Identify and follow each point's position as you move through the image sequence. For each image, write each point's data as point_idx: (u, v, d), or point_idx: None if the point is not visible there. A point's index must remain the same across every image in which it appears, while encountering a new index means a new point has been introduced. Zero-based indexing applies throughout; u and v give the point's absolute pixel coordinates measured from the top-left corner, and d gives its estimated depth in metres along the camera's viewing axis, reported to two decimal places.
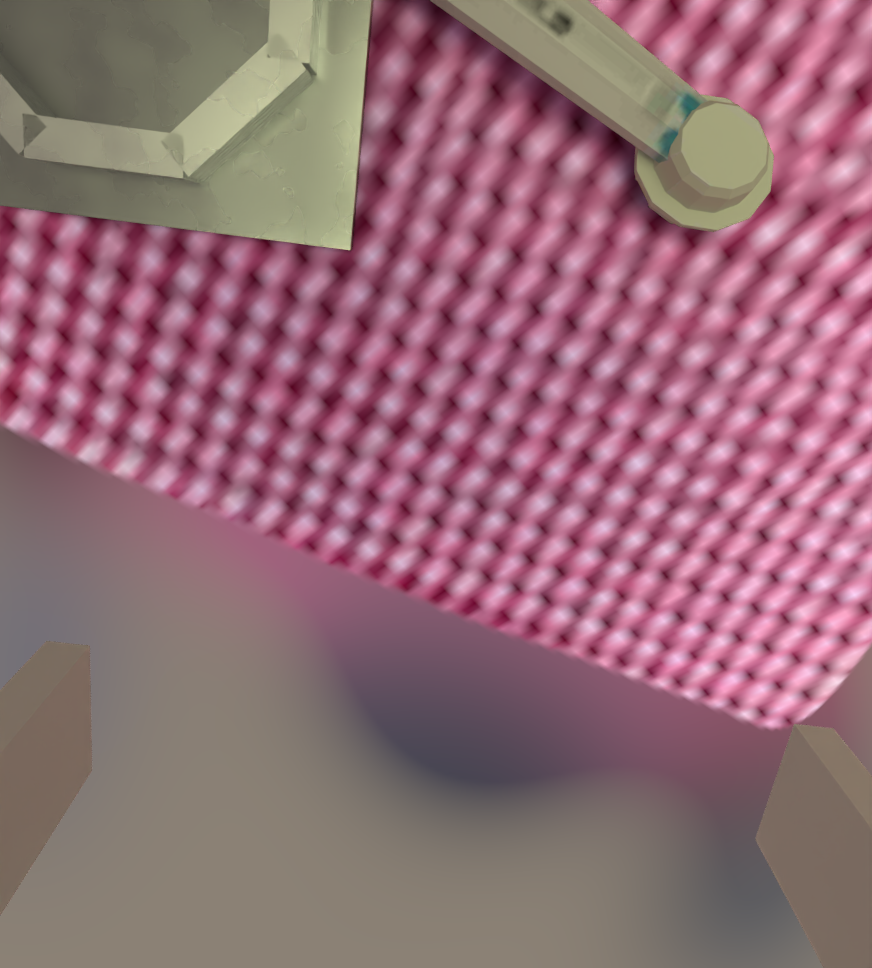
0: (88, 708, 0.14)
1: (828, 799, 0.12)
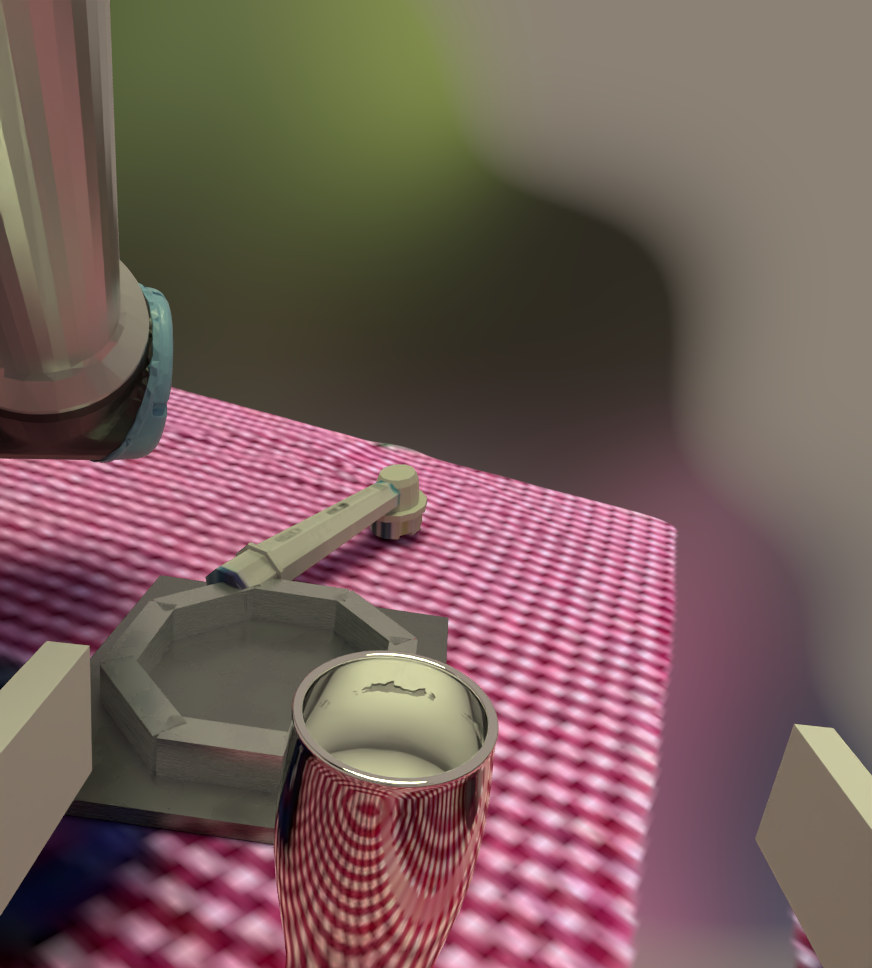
0: (88, 708, 0.14)
1: (828, 798, 0.12)
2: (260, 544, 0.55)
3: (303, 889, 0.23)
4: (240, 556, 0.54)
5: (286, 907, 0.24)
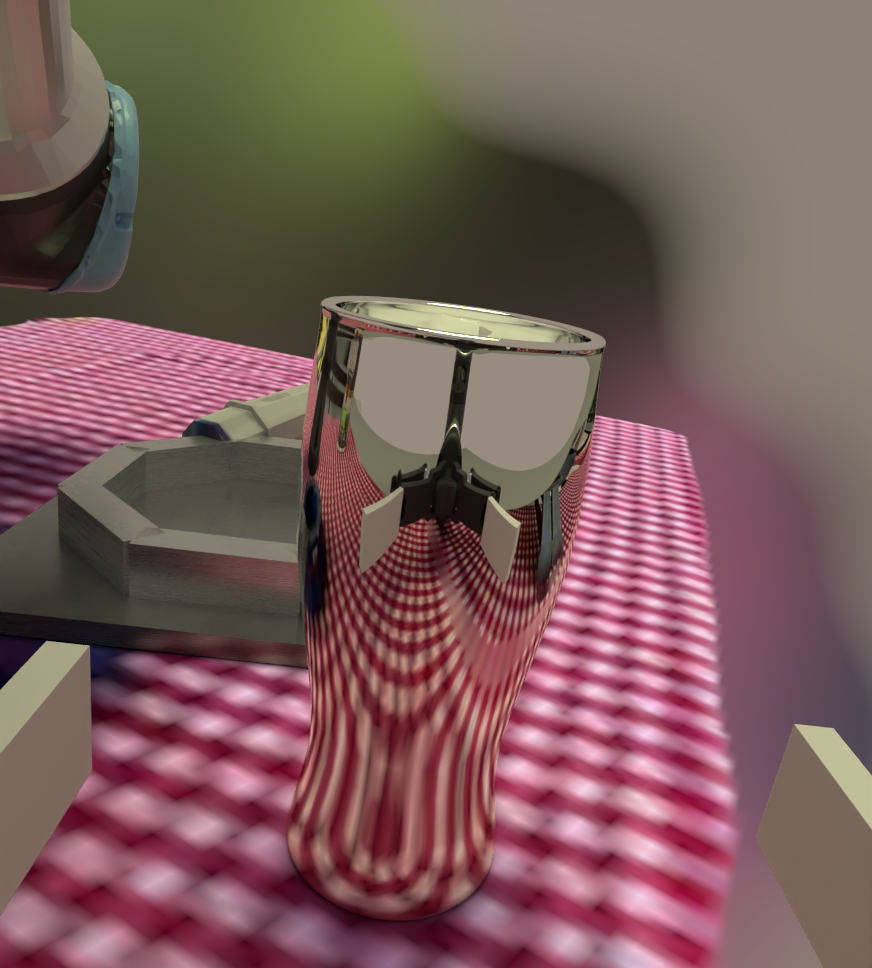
0: (88, 708, 0.14)
1: (828, 798, 0.12)
2: None
3: (345, 548, 0.16)
4: (221, 411, 0.47)
5: (318, 600, 0.17)
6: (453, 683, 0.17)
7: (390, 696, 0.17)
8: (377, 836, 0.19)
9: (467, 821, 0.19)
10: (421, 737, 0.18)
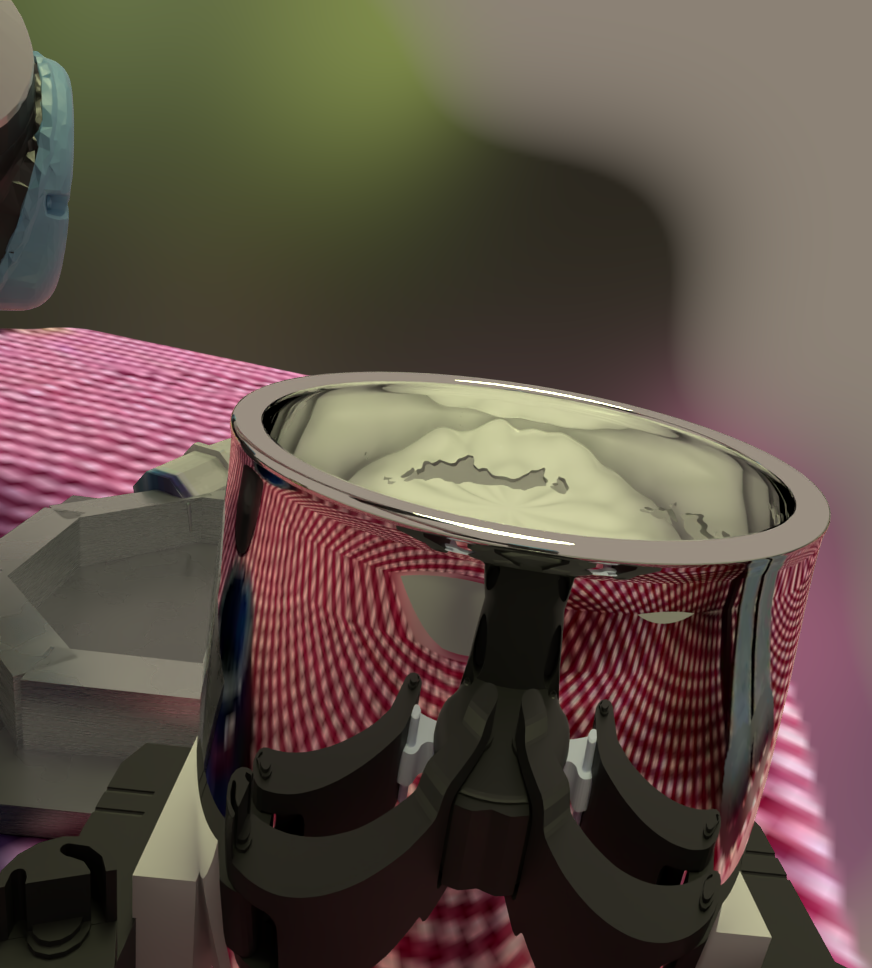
0: None
1: None
2: (211, 446, 0.40)
3: (277, 951, 0.07)
4: (182, 458, 0.38)
5: None
6: None
7: None
8: None
9: None
10: None
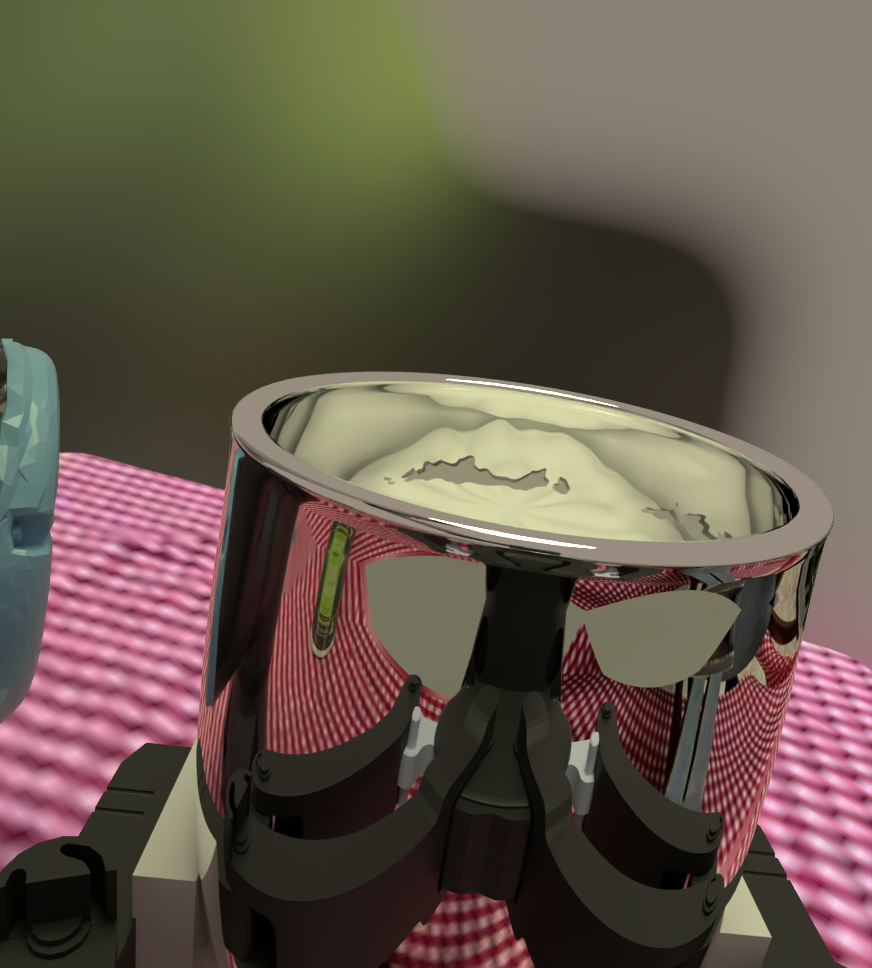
0: None
1: None
2: None
3: (277, 955, 0.07)
4: None
5: None
6: None
7: None
8: None
9: None
10: None
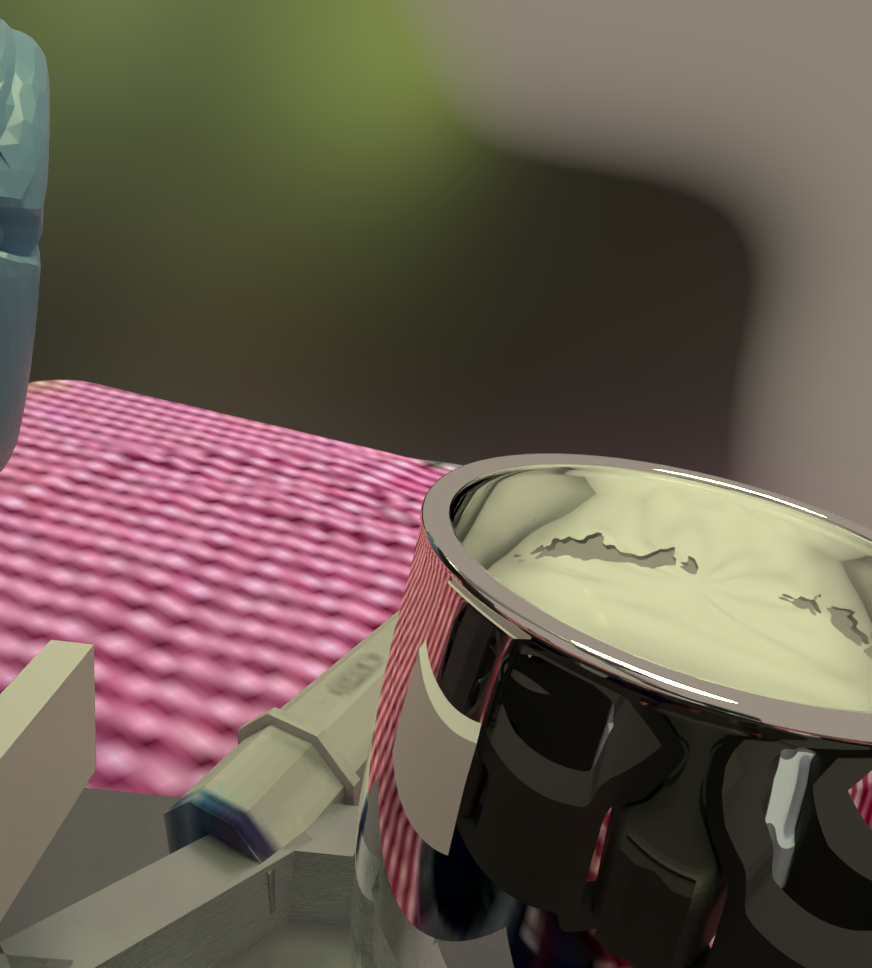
0: (92, 707, 0.14)
1: None
2: (296, 707, 0.23)
3: None
4: (251, 751, 0.21)
5: None
6: None
7: None
8: None
9: None
10: None
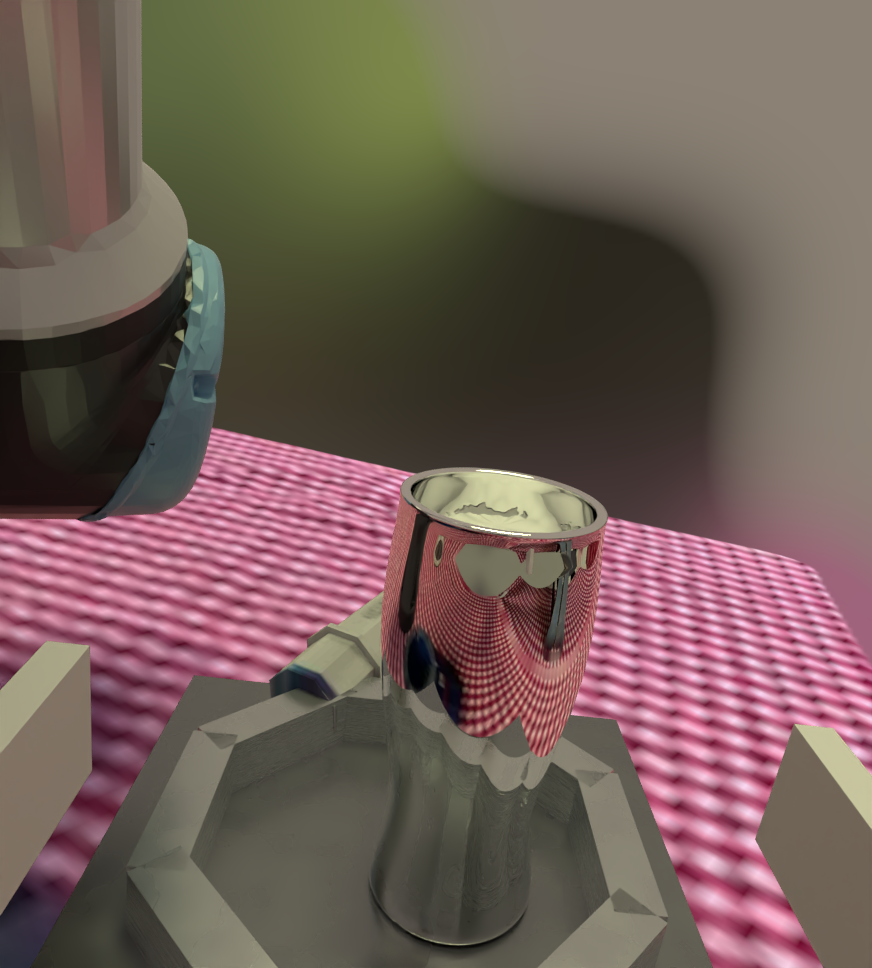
0: (88, 708, 0.14)
1: (828, 798, 0.12)
2: (343, 624, 0.37)
3: (423, 673, 0.22)
4: (319, 645, 0.36)
5: (400, 706, 0.23)
6: (501, 767, 0.23)
7: (454, 777, 0.23)
8: (443, 880, 0.25)
9: (510, 868, 0.25)
10: (476, 806, 0.24)
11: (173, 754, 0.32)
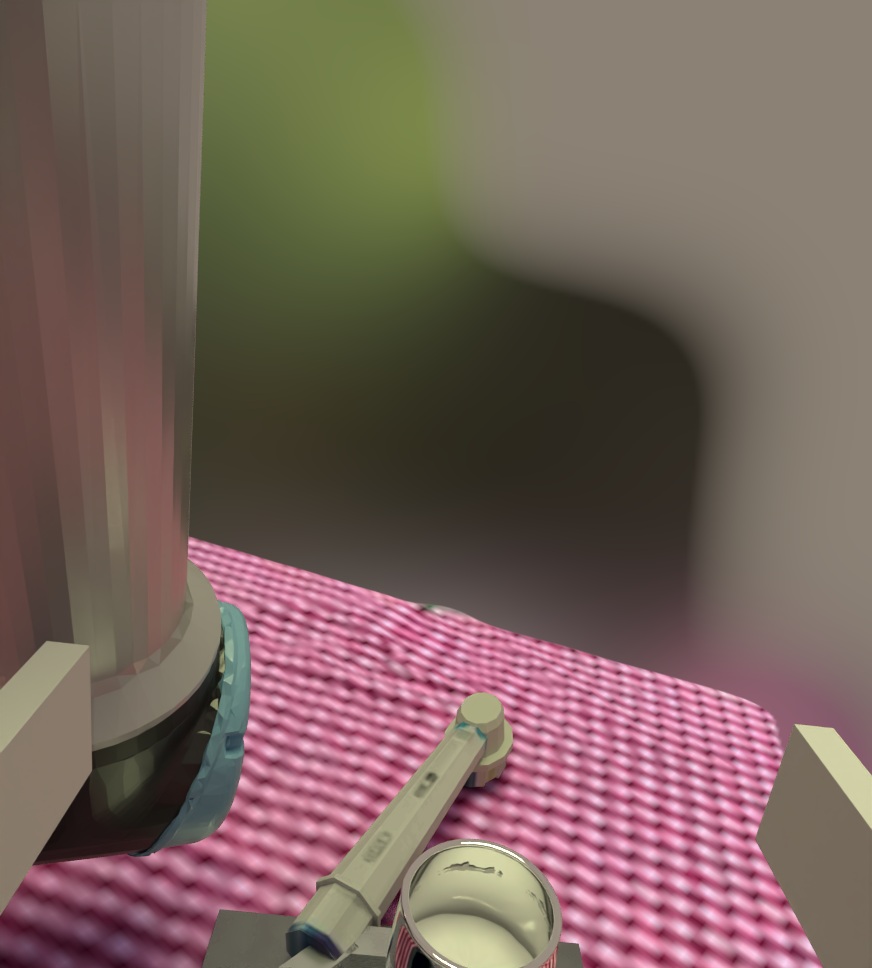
0: (87, 708, 0.14)
1: (828, 798, 0.12)
2: (347, 871, 0.44)
3: None
4: (327, 899, 0.42)
5: None
6: None
7: None
8: None
9: None
10: None
11: None
